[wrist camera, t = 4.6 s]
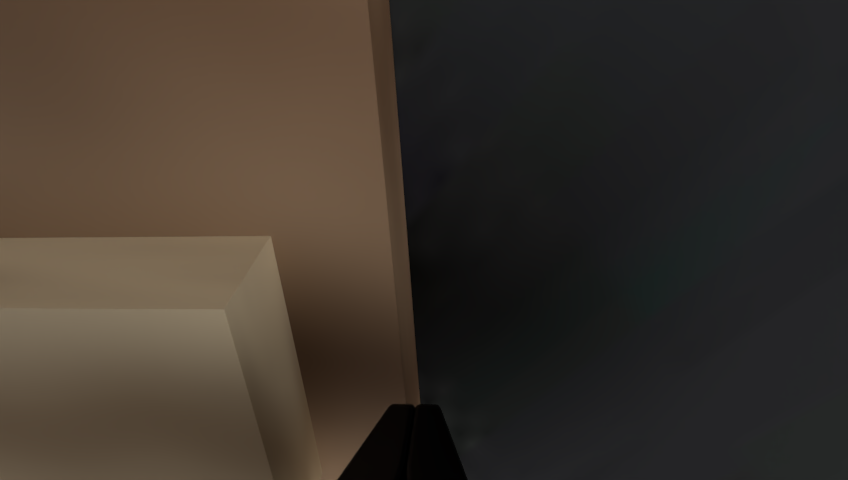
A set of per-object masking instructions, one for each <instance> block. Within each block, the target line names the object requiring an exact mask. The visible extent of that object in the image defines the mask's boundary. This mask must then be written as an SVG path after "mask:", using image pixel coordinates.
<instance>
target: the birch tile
mask: <svg viewBox="0 0 848 480" xmlns="http://www.w3.org/2000/svg"><path fill="white" fill-rule="evenodd" d="M321 476H322V467H321V463H320V458H319V454H318V449H317V445H316V440H315V436H314V431H313V426H312V422H311V417H310V413H309V408H308V404H307V399H306V395H305V390H304V385H303V381H302V376H301V372H300V367H299V363H298V358H297V353H296V349H295V344H294V340H293V335H292V331H291V326H290V322H289V317H288V312H287V308H286V303H285V299H284V294H283V290H282V285H281V281H280V276H279V271H278V267H277V262H276V258H275V253H274V249H273V244H272V239H271V236H198V237H67V238H0V480H321Z"/></svg>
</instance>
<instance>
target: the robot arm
mask: <svg viewBox="0 0 848 480" xmlns="http://www.w3.org/2000/svg"><path fill="white" fill-rule="evenodd" d="M337 480H467V477H466V474H465V472H464V469H463V466H462V464H461V461H460V458H459V456H458V453H457V450H456V448H455V445H454V442H453V440H452V437H451V434H450V432H449V429H448V426H447V424H446V421H445V418H444V416H443V413H442V410H441V408H440V407H439V406H438V405H432V404H418V405H417V406H416V407H414V405H412V404H391V405H390V406H389V407H388V408H387V410H386V411H385V412H384V414H383V415H382V417H381V418H380V420H379V421H378V422H377V424H376V425H375V427H374V428H373V429H372V431H371V432H370V434H369V435H368V437H367V438H366V439H365V441H364V442H363V444H362V445H361V446H360V448H359V449H358V451H357V452H356V454H355V455H354V456H353V458H352V459H351V461H350V462H349V463H348V465H347V466H346V468H345V469H344V471H343V472H342V473H341V475H340V476H339V478H338V479H337Z"/></svg>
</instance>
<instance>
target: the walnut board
mask: <svg viewBox="0 0 848 480" xmlns="http://www.w3.org/2000/svg"><path fill="white" fill-rule="evenodd" d="M198 236H271V239H272V244H273V249H274V253H275V258H276V262H277V267H278V271H279V276H280V281H281V285H282V290H283V294H284V299H285V303H286V308H287V312H288V317H289V322H290V326H291V331H292V335H293V340H294V344H295V349H296V353H297V358H298V363H299V367H300V372H301V376H302V381H303V385H304V390H305V395H306V399H307V404H308V408H309V413H310V417H311V422H312V426H313V431H314V436H315V440H316V445H317V449H318V454H319V458H320V463H321V467H322V476H321V480H337V479H338V478H339V476H340V475H341V473H342V472H343V471H344V469H345V468H346V466H347V465H348V463H349V462H350V461H351V459H352V458H353V456H354V455H355V454H356V452H357V451H358V449H359V448H360V446H361V445H362V444H363V442H364V441H365V439H366V438H367V437H368V435H369V434H370V432H371V431H372V429H373V428H374V427H375V425H376V424H377V422H378V421H379V420H380V418H381V417H382V415H383V414H384V412H385V411H386V410H387V408H388V407H389V406H390V405H391V404H412V405H414V407H416V406H417V405H418V404H420V395H419V382H418V369H417V356H416V343H415V330H414V317H413V304H412V292H411V279H410V266H409V253H408V240H407V227H406V214H405V201H404V188H403V175H402V162H401V150H400V137H399V124H398V111H397V98H396V85H395V72H394V59H393V46H392V33H391V20H390V8H389V0H0V238H67V237H198Z"/></svg>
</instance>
